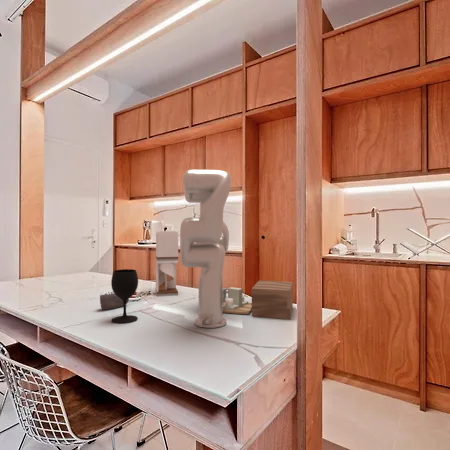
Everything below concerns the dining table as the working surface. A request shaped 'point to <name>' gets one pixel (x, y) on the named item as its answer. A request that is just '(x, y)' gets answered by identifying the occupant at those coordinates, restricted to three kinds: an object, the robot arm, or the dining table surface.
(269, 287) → the brown wooden block
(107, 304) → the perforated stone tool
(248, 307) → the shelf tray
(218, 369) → the dining table surface
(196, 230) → the robot arm
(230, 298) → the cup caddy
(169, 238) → the display case
